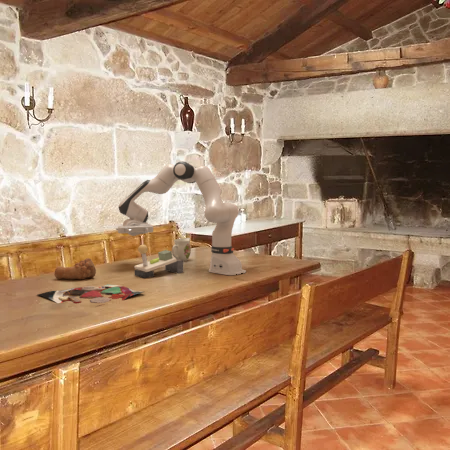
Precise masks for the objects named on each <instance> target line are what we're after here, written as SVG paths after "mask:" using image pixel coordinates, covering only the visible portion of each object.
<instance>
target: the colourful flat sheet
mask: <svg viewBox="0 0 450 450" xmlns="http://www.w3.org/2000/svg"><path fill="white" fill-rule="evenodd" d="M142 293H144V291H142V290H141V291H140V290H139V291H138V290H135V289H134V290H133V289H131V288H130V287H127V286H123V285H117V284H110V283H109V284H108V283H107V284H106V285H105V284H104V285H101V286H94V285H87V286H82V287H81V286H80V287H71V288H67V289H63V290H50V291H44V292H41V293H38V294H37V296H40V297H43V298H45V299H49V300H51V301H53V302H55V303H56V304H60V303H61V304H62V303H64V302H65V303H66V302H72V303H73V304H74V305H75V304H81V303H82V300H81V299H86V300H87V299H88V300H89V299H90V300H89V303H91V304H98V305H97V306H95V308H97V307H99V306H102V304H103V303H108V302H111V301H112V300H118V299H121V301H124V300H127V299H128V298H130V297H132V296H135V295H137V294H139V295H140V294H142ZM104 295H105V296H108V297H104ZM77 297H79V298H77ZM104 305H105V304H103V306H104Z"/></svg>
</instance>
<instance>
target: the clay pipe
mask: <svg viewBox="0 0 450 450" xmlns="http://www.w3.org/2000/svg"><path fill="white" fill-rule="evenodd" d="M96 273H97V270H96V266H95V263H94V262H93V260H92V259H91V258H89V257H87V258H85V259H83V260H80V261H79V262H76V263H75V265H74V266H67V267H64V266H62V265H61V266H60V265H59V266H57V267H56V268H55V270H54V278H55V279H57V280H63V279H67V280H69V279H71V280H72V279H79V280H80V279H81V280H85V279H87V278H90V279H92V278H94V277H95V276H96Z"/></svg>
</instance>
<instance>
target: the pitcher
mask: <svg viewBox="0 0 450 450" xmlns="http://www.w3.org/2000/svg"><path fill="white" fill-rule="evenodd" d="M173 242H174V245H172V249H171V252H172V257H173V258H176V259H180V260H183V262H187V261H188V260H189V258H190V256H191V252H192V251H191V250H192V247H191V244H190V243H191V237H183V238H177V239H174V240H173Z"/></svg>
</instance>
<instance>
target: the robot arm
mask: <svg viewBox="0 0 450 450" xmlns="http://www.w3.org/2000/svg"><path fill="white" fill-rule="evenodd" d="M177 181H182V182H184V183H187V184H194V183H196V185H197V187H198V189H199V191H200V194H201V195H202V198H203V199H204V203H205V210H204V218H205V219H206V221H208V222H210V223H212V224H213V223H214V224H216V225H215V227H214V229H213V231H212V233H211V234H212V235H211V236H212V237H211V242H212V243H211V247H210V249H211V251H210V252H211V255H210V261H209V269H208V272H209V273H214V274H219V275H226V276H236V274H237V275H241V273H243V274H246V273H247V270H245V269H243V264H242V261H241V260H240V259H239V258H238V257H237V255H236V254H235V253H234V250H235V248H234V247H233V246H232V233H233V228H234V224H235V221H236V219H237V217H238V216H239V209H238V206H237V205H236V204H234V203H232V202H223V201H222V197H221V195H222V188H221V186H220V185H219V183H218V181H217V179H216V177H215V175H214V174H213V172H212V171H211V169H210V168H209V167H208V166H206V165H201V166H198V167H196V166H194V165H193V164H191V163H189V162H187V161H178V162H177V163H175V164H172V163H168V164H166V165H165V166H163V168H162V169H161V170H160V171H159V172H158V173H157V174H156V175H155V177H154V178H152V179H146V180H145V181H143V182H142V183H141V184H140V185H138V186H137V187H136V188H135V189H134V190H133V191H132V192H131V193H130V194H129V195H128V196H126V197H125V198H124V199H122V201H120V203H118V204H119V205H118V212H119V213H120V214H121V215H124V216H126V217H127V218H128V219H125V220H124V221H123V222H122V225H118V226H117V227H116V228H115V230H116V231H117V233H118V234H128V235H130V236H132V237H135V236H139V235H144V234H149V233H154V225H152V224H150V223H149V222H148V220H149V212H148V210H147V209H146V208H144V207H143V206H141V205H139V204H138V203H137V202H135V200H137V199H138V198H139V197H140V196H141V195H142V194H143V193H147V192H148V193H152V194H156V195H157V194H158V195H164V194H166V193H168V192H169V190H171V188H172V187H173V185H174V184H175V183H176V182H177Z"/></svg>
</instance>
